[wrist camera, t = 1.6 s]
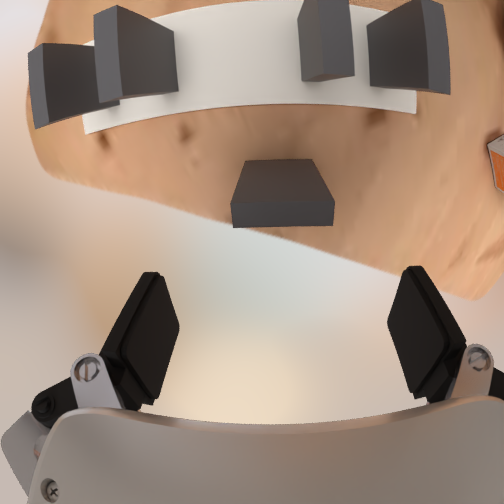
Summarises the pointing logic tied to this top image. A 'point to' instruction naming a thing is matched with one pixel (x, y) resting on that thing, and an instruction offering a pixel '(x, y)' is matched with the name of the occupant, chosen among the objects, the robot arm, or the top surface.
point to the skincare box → (497, 161)
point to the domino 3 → (281, 195)
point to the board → (251, 65)
